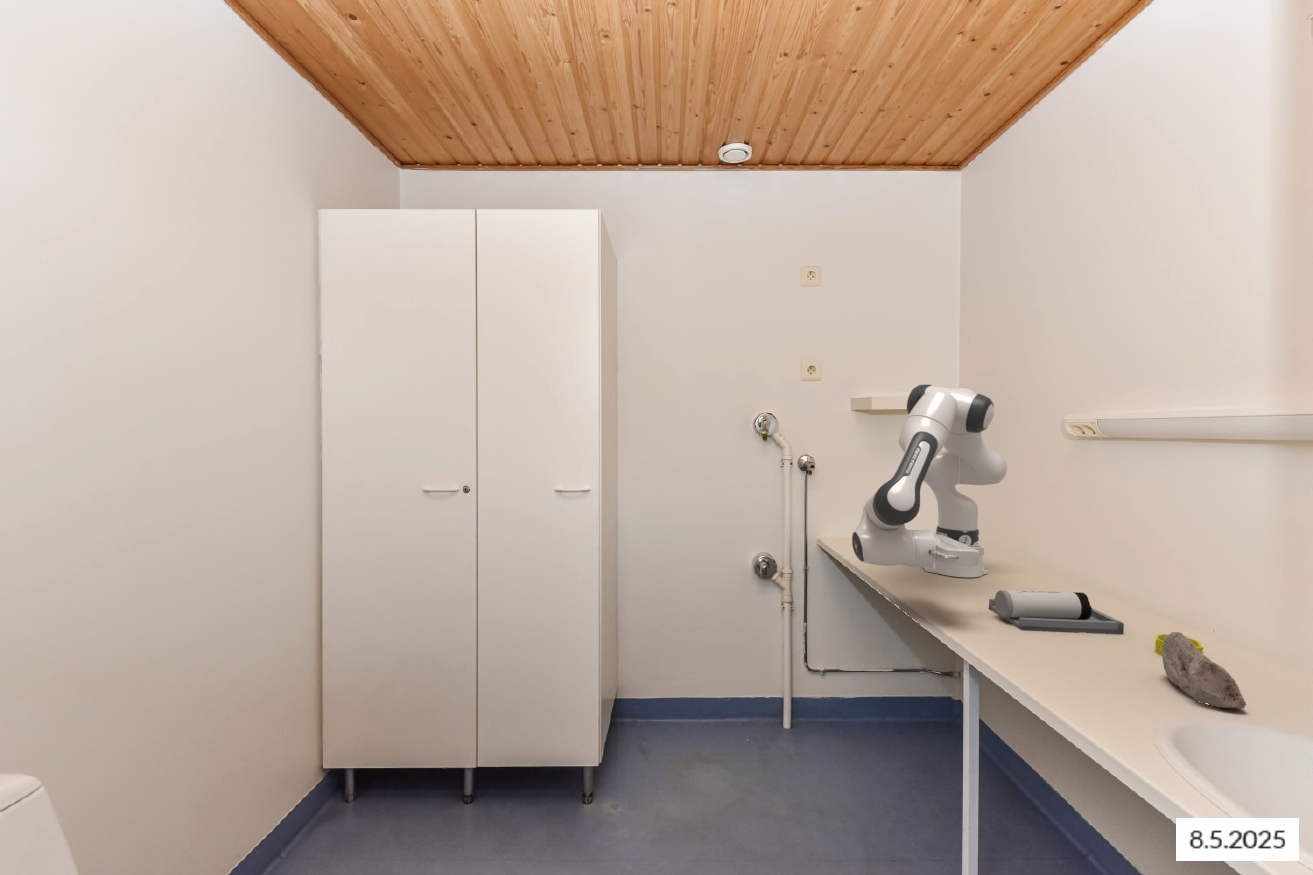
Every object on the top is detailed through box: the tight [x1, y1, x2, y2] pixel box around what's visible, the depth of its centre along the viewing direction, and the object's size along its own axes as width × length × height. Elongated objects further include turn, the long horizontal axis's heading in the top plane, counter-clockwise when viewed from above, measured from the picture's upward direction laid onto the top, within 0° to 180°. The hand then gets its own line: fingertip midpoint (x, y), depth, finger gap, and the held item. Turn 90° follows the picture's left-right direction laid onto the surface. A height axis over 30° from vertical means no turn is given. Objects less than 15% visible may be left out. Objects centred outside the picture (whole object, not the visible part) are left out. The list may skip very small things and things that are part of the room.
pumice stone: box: [1161, 631, 1247, 710], centre depth 107 cm, size 15×8×10 cm, turn 161°
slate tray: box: [988, 598, 1125, 635], centre depth 146 cm, size 16×22×2 cm
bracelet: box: [1154, 633, 1204, 657], centre depth 125 cm, size 7×8×3 cm
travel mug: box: [994, 589, 1093, 619], centre depth 145 cm, size 6×7×20 cm
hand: (981, 550), depth 146 cm, fingers closed
